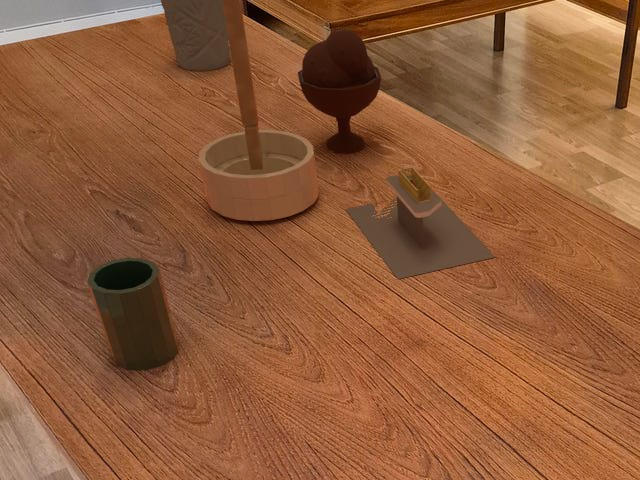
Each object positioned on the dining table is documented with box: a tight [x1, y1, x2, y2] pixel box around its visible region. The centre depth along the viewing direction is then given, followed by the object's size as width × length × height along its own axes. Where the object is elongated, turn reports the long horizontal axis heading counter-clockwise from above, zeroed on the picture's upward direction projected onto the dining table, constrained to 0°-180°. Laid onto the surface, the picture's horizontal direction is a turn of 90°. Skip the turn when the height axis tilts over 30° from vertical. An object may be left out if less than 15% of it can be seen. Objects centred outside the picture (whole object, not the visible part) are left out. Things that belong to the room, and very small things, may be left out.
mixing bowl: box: [198, 129, 320, 222], centre depth 109 cm, size 14×14×6 cm
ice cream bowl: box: [297, 29, 382, 154], centre depth 118 cm, size 11×11×15 cm
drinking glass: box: [160, 0, 232, 72], centre depth 142 cm, size 10×10×12 cm
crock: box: [86, 257, 180, 371], centre depth 84 cm, size 6×6×9 cm
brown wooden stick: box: [222, 0, 263, 170], centre depth 100 cm, size 2×3×24 cm, turn 10°
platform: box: [345, 166, 496, 280], centre depth 103 cm, size 12×18×7 cm, turn 25°
